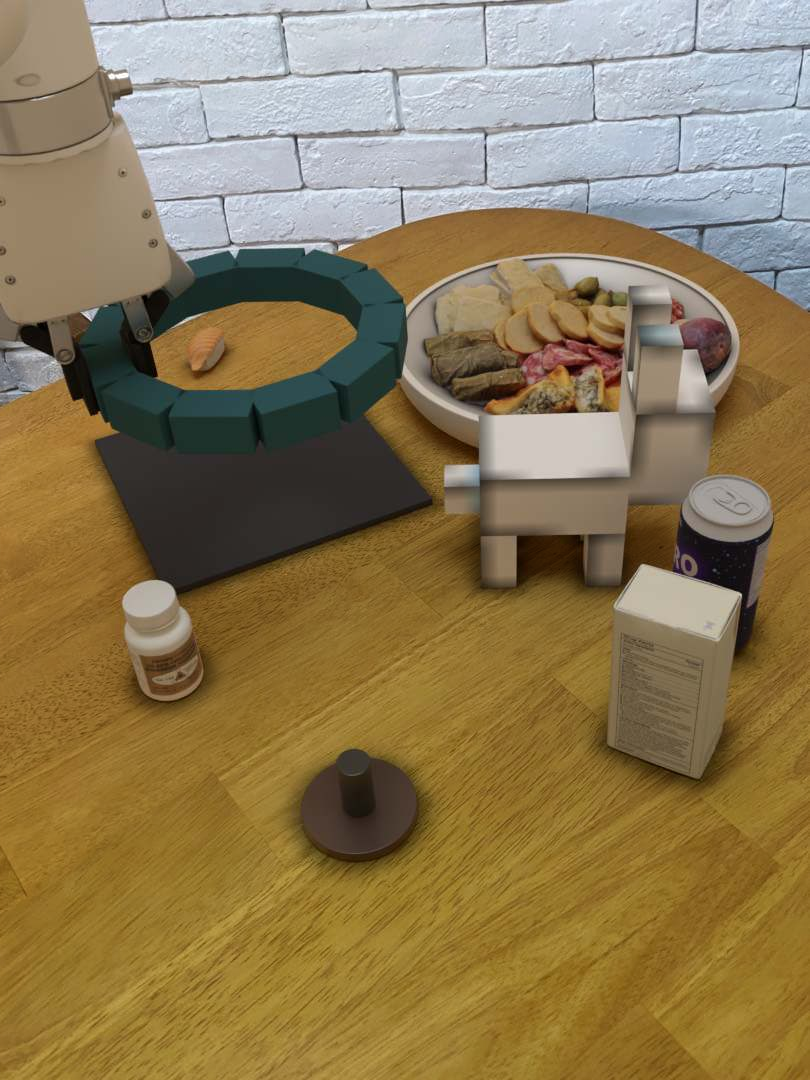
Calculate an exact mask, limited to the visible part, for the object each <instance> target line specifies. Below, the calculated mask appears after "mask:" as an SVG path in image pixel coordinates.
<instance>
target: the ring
mask: <svg viewBox="0 0 810 1080" xmlns="http://www.w3.org/2000/svg"><path fill="white" fill-rule="evenodd" d="M185 262H186V263H187V264H188V265H189V267H190V268H191V270H192V271H193V273H194V274H195V278H196V279H195V282H194V283H193V284H192V285H191V286H190V287H189V288H187V289H186V290H185V291H184V292H183V293H181V294H180V295H179V296H178V297H177V298H175V299H172V300H171V301H170V303H169V306H168V307H167V309H166V310H165V312H164V313H163V315H162V316H161V318H160V319H159V321H158V322H157V324H156V325H155V327H154V328H153V333H154V334H153V337H152V339H151V340H150V343H152V342H153V341H154V340H155V339H158V338H159V337H161V335H162V336H163V334H165V333H167V332H168V331H169V330H171V329H172V328H174V327H176V326H177V325H178V324H180V323H181V322H183V321H184V320H186V319H188V318H190V317H195V316H198V315H202V314H206V313H209V312H212V311H216V310H219V309H220V310H221V309H224V308H228V307H230V306H234V305H238V304H241V303H273V302H274V303H278V302H279V303H286V302H287V303H288V302H294V303H295V302H299V303H302V304H304V305H305V304H306V305H308V306H312V307H314V308H318V309H322V310H324V311H328V312H331V313H334V314H337V315H341V316H343V317H344V318H345V319H346V320H347V322H348V323H349V324H350V325H351V326H352V327H353V328H354V330H355V331H356V335H355V339H353V340H352V341H351V342H350V343H348V344H347V345H346V346H344V347H343V348H342V349H341V350H339V351H338V352H336V353H335V354H334V355H333V356H332V357H331V358H329V359H328V360H326V361H325V362H324V363H323V364H322V365H320V366H319V367H318V368H316V369H315V370H312V371H308V372H305V373H302V374H298V375H295V376H292V377H288V378H285V379H282V380H278V381H274V382H272V383H268V384H264V385H262V386H258V387H254V388H252V389H183V388H181V387H178V386H177V385H176V386H175V385H174V384H171V383H169V382H166V381H163V380H161V379H158V378H153V377H150V376H148V375H145V374H143V373H140V372H137V370H136V368H135V367H134V365H133V363H132V362H131V360H130V358H129V356H128V354H127V352H126V350H125V348H124V346H123V344H122V340H121V337H120V333H119V330H121V325H122V321H123V320H124V316H123V314H122V311H121V308H120V305H119V303H114V304H110V305H106V306H103V307H99V308H97V311H96V312H95V314H94V316H93V318H92V319H91V322H90V323H89V325H88V327H87V329H86V330H85V332H84V333H83V335H82V337H81V339H80V341H79V342H78V345H79V347H80V349H81V351H82V353H83V355H84V358H85V360H86V362H87V365H88V369H89V372H90V375H91V382H92V385H93V388H94V392H95V395H96V398H97V402H98V405H99V409H100V411H99V413H100V416H101V418H102V420H103V422H104V424H109V425H110V428H111V430H114V431H116V432H117V433H119V432H121V433H123V434H125V435H128V436H130V437H132V438H135V439H137V440H139V441H142V442H144V443H146V444H149V445H151V446H153V447H156V448H158V449H161V450H163V451H165V452H167V451H168V450H169V449H171V448H172V447H173V446H176V450H177V453H178V454H255V453H256V450H257V446H258V443H259V440H260V441H261V442H262V444H263V445H264V447H265V449H266V450H267V452H271V451H274V450H278V449H281V448H284V447H287V446H290V445H293V444H296V443H299V442H303V441H306V440H309V439H312V438H315V437H318V436H321V435H325V434H328V433H331V432H334V431H337V430H340V429H342V427H341V420H343V421H346V422H349V423H353V422H354V421H356V420H357V419H358V418H359V417H360V416H361V415H365V413H366V412H368V411H369V410H370V409H371V408H372V407H373V406H375V405H376V404H377V403H379V401H381V400H382V399H383V398H385V397H386V395H388V394H389V393H391V391H393V390H394V389H395V388H396V387H397V386H398V381H397V380H398V379H401V378H402V372H403V366H404V360H405V354H406V348H407V343H408V332H407V318H406V307H407V305H406V303H404V296H402V294H400V292H399V291H398V290H397V289H396V288H395V287H394V286H393V285H392V284H391V283H390V282H389V281H388V280H387V279H386V278H385V277H384V276H383V275H382V274H381V273H380V272H379V271H378V270H377V269H376V268H375V267H371V268H369V266H368V264H367V263H365V262H361V261H357V260H354V259H351V258H348V257H344V256H340V255H337V254H333V253H330V252H326V251H322V250H319V249H312V250H310V251H309V252H307V253H306V249H305V247H273V248H271V247H270V248H265V247H264V248H239V249H238V251H237V253H236V256H234V255H233V254H232V253H231V251H230V250H224V251H220V252H217V253H214V254H209V255H206V256H203V257H198V258H194V259H190V260H185Z"/></svg>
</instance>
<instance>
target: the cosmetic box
mask: <svg viewBox="0 0 810 1080" xmlns="http://www.w3.org/2000/svg"><path fill="white" fill-rule="evenodd" d="M741 600H742V594H741V593H739V592H736V591H733V590H730V589H727V588H724V587H721V586H718V585H715V584H711V583H708V582H705V581H702V580H698V579H695V578H691V577H688V576H685V575H681V574H677V573H674V572H672V570H671V571H670V570H668V569H667V570H666V569H664V568H660V567H656V566H652V565H648V564H645V563H642V564H640V565H639V567H638V568H637V570H636V572H635V573H634V574H633V575H632V577H631V578H630V579H629V581H628V582H627V584H626V586H625V587H624V589H623V590H622V592H620V595H619V596H618V598H617V599H616V601H615V602H614V604H613V608H612V609H613V610H612V633H611V652H610V653H611V654H610V674H609V695H608V696H609V697H608V711H607V712H608V715H607V734H606V736H607V737H606V744H607V746H608V747H610V748H613V749H615V750H618V751H620V752H623V753H625V754H626V755H629V756H632V757H635V758H637V759H640V760H643V761H645V762H649V763H652V764H654V765H656V766H659V767H662V768H664V769H667V770H670V771H673V772H676V773H679V774H681V775H684V776H687V777H690V778H693V779H695V780H700V779H701V777H702V776H703V774H704V772H705V770H706V769H707V766H708V764H709V762H710V760H711V758H712V756H713V754H714V752H715V750H716V748H717V745H718V743H719V741H720V738H721V736H722V734H723V725H724V720H725V713H726V707H727V701H728V694H729V687H730V681H731V673H732V667H733V661H734V654H735V652H734V649H735V642H736V635H737V628H738V621H739V614H740V607H741Z"/></svg>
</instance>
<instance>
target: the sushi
mask: <svg viewBox="0 0 810 1080" xmlns="http://www.w3.org/2000/svg"><path fill="white" fill-rule="evenodd" d="M224 334H225V333H224V330H222V329H220V328H218V327H215V326H211V327H207V328H203V329H202V330H200V331H198V332H197V333H196V334H195V335H193V337H192V339H191V341H190V343H189V346H188V349H187V350H188V351H187V354H188V355H187V356H188V362H189V365H190V367H191V371H196V372H197V371H201V372H205V371H208V370H209V371H210V370H211V369H212V368H213V367H215V365H216V364H217V363H218V362H219V360H220V358H221V357H222V355H223V353H224V352H225V349H226V348H225V347H226V346H225V336H224Z"/></svg>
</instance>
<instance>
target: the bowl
mask: <svg viewBox="0 0 810 1080" xmlns="http://www.w3.org/2000/svg"><path fill="white" fill-rule="evenodd" d="M643 285H667V286H668V290H669V294H670V297H671V301H672V312H671V321H670V324H678V326H679V330H680V333H681V337H682V341H683V344H684V348H683V350H693V349H697V350H698V353H699V356H700V360H701V363H702V367H703V370H704V374H705V377H706V380H707V384H708V387H709V391H710V394H711V398H712V401H713V404H714V408H715V407H717V405H718V404H719V403H720V401H721V400H722V399H723V397H724V396H725V394H726V393H727V391H728V389H729V387H730V386H731V384H732V381H733V379H734V376H735V373H736V370H737V367H738V361H739V354H740V343H741V342H740V335H739V331H738V327H737V325H736V322H735V321H734V319H733V317H732V315H731V313H730V312H729V311H728V309H727V308H726V307H725V306H724V305H723V304H722V302H721V301H719V300H718V299H717V298H716V297H715V296H714V295H713V294H712V293H710V292H709V291H708V290H706V289H705V288H704V287H702V286H700V285H699V284H697V283H695V282H693V281H692V280H690V279H688V278H686V277H684V276H682V275H679V274H677V273H676V272H672V271H670V270H668V269H665V268H663V267H659V266H656V265H652V264H650V263H646V262H642V261H637V260H633V259H629V258H624V257H619V256H612V255H605V254H604V255H603V254H595V253H578V252H574V253H573V252H550V253H535V254H526V255H519V256H513V257H507V258H502V259H501V258H500V259H497V260H496V259H495V260H493V261H488V262H485V263H481V264H477V265H474V266H472V267H468V268H465V269H463V270H461V271H458V272H455V273H454V274H451V275H449V276H447V277H444V278H443V279H441V280H439V281H437V282H436V283H433V284H432V285H431V286H429V287H427V288H426V289H424V290H423V291H422V292H420V293H419V294H418V295H416V297H414V299H412V301H411V302H410V303H409V304H408V305H406V318H407V332H408V343H407V348H406V354H405V360H404V366H403V372H402V378H401V379H397V380H398V382H399V384H400V387H401V388H402V390H403V392H404V394H405V395H406V397H407V399H408V400H409V401H410V403H411V404H412V406H414V408H415V409H416V410H417V411H418V412H419V413H420V414H421V415H422V416H423V417H424V418H425V419H426V420H428V421H429V422H430V423H431V424H432V425H434V426H435V427H436V428H438V429H439V430H441V431H442V432H444V433H446V434H447V435H449V436H450V437H452V438H454V439H456V440H458V441H460V442H463V443H464V444H467V445H468V446H471V447H474V448H476V449H479V420H478V416H488V415H525V414H562V413H599V412H619V401H620V388H621V376H622V363H623V350H624V337H625V324H626V311H627V298H628V286H643Z"/></svg>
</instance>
